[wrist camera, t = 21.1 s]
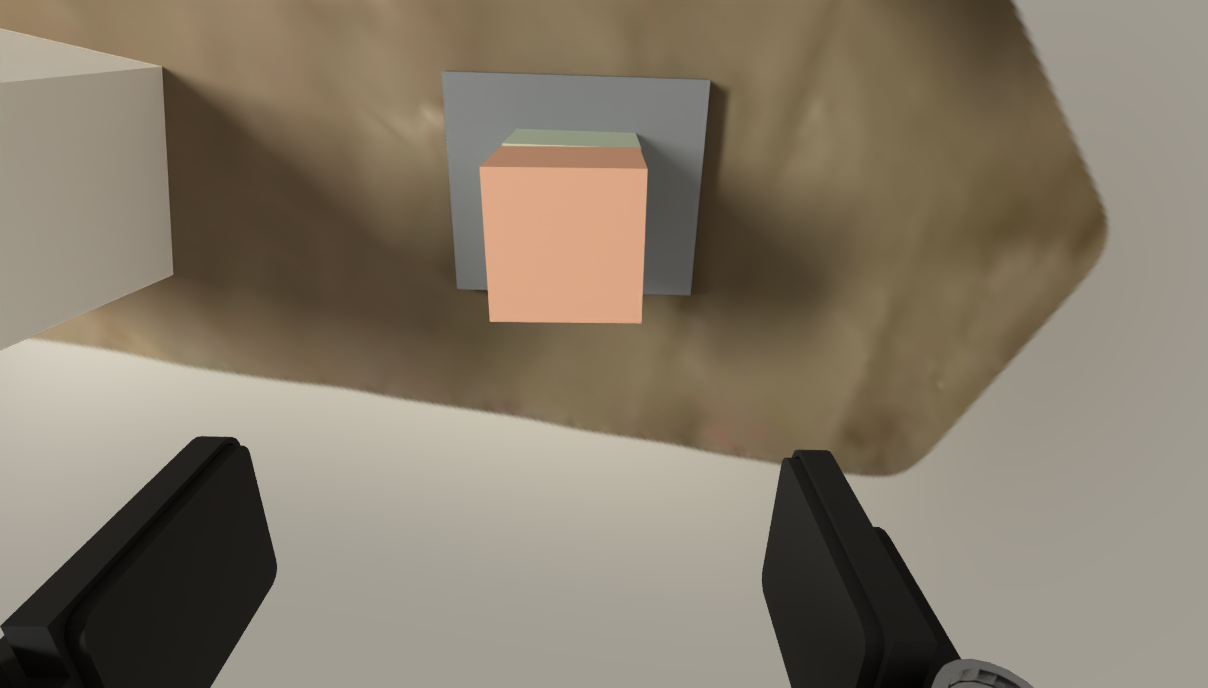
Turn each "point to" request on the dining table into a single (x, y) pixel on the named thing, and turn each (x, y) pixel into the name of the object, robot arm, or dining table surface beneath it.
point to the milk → (77, 182)
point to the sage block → (571, 138)
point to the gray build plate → (582, 103)
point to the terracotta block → (564, 233)
